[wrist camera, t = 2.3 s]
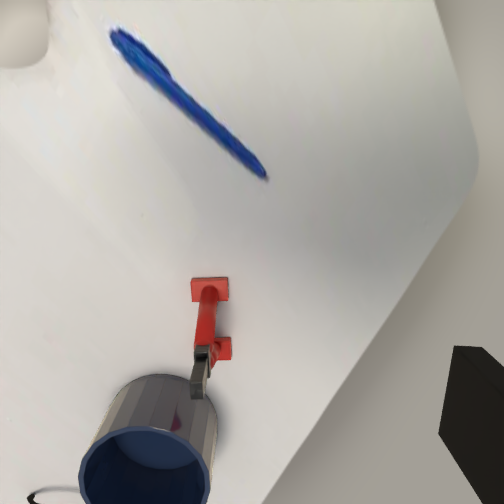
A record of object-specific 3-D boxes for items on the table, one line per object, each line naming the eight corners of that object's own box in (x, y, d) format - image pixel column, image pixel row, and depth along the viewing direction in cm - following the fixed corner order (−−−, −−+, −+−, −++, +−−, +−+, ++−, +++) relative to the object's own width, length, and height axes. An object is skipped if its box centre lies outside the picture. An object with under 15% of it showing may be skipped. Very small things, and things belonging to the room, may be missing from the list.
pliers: (227, 277, 38) (217, 335, 26) (231, 355, 39) (223, 441, 28) (191, 278, 38) (166, 337, 26) (197, 357, 39) (176, 443, 28)
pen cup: (214, 371, 40) (205, 424, 32) (219, 466, 42) (213, 535, 35) (103, 375, 40) (70, 428, 32) (115, 470, 42) (87, 539, 35)
